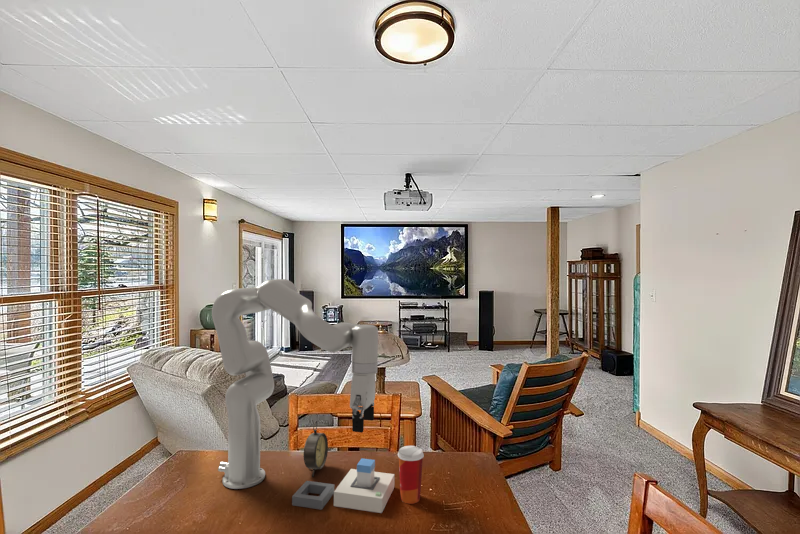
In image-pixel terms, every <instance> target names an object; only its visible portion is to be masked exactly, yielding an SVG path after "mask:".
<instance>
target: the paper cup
mask: <svg viewBox="0 0 800 534" xmlns="http://www.w3.org/2000/svg"><path fill="white" fill-rule="evenodd" d="M396 455H397V457H398V469H399V470H398V471H399V492H400V500H401V501H402V503H405V504H408V505H412V504H417V503H419V502H420V501H421V500H420V499H421V492H422V491H421V490H422V477H423V475H422V473H423V462H424V461H423V459H424V456H425V455H424V452H423V449H422V448H420V447H418V446H415V445H405V446H402V447H400V448H399V450H398V452H397V454H396Z"/></svg>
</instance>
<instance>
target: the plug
mask: <svg viewBox="0 0 800 534" xmlns="http://www.w3.org/2000/svg"><path fill="white" fill-rule="evenodd" d="M375 468H376V459H371V458H363V457H361V458H360V460H359V461H358V462H357V464H356V469H357V486H364V487H371V488H372V486H373V485H374V474H375V472H376V471H375Z"/></svg>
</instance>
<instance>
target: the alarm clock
mask: <svg viewBox="0 0 800 534" xmlns="http://www.w3.org/2000/svg"><path fill="white" fill-rule="evenodd" d="M315 424H316V428H315ZM317 428H318V421H317V420H315V421H314V423H313V427H312V429H313V432H312V433H310V434H309V435H308V437H307V438H306V440H305V442H304V447H303V461H304V465H305V467H306V468H307V469H308V470H312V474H311V477H313V478H314V477H315V472H316V470H321V469H323V468H324V466H325V464H326V461H327V457H328V454H329V453H328V451H329V442H328V440H329V439H328V436H327V435H326V433H324V432H317V430H318V429H317Z"/></svg>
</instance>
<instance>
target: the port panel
mask: <svg viewBox="0 0 800 534" xmlns="http://www.w3.org/2000/svg"><path fill="white" fill-rule="evenodd" d="M394 488H395V473H390V472H389V473H388V472H387V473H386V472H379V471H375V474H374V485H373V486H372V488H371V487H364V486H357V468H356V469H355V468H350V470H349V471H348V472H347V473H346V475H345V476H344V477H343V479H342V480H341V481H340V483H339V484H338V485H337V487H336V488H335V489H334V494H333V507H337V508H345V509H352V510H358V511H366V512H370V513H379V514H382V513H383V511H384V510H385V507H386V505H387V503H388V502H389V499H390V498H391V496H392V495H391V494H392V493H393V491H394Z"/></svg>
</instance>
